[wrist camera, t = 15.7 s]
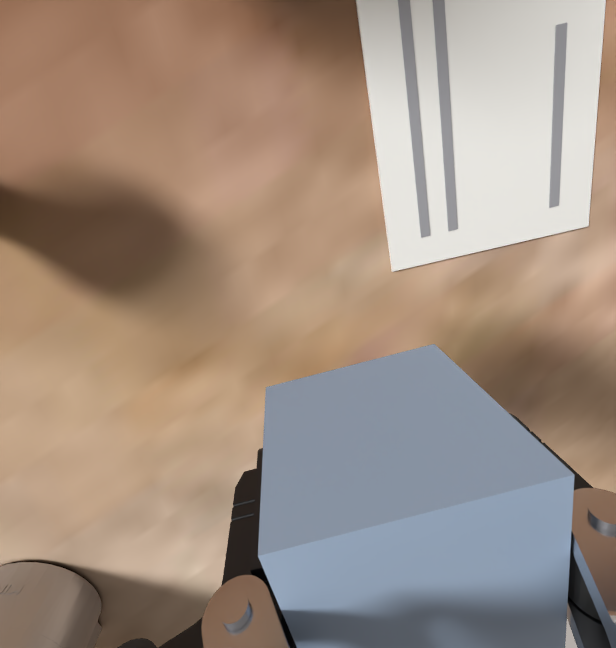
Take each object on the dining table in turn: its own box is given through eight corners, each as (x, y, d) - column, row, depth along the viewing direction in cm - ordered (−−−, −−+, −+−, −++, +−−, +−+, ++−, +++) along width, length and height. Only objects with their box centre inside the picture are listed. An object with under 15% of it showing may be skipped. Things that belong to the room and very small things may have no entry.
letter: (585, 226, 19) (589, 226, 19) (391, 270, 19) (393, 271, 19) (613, -154, 14) (619, -160, 14) (344, -87, 14) (345, -91, 14)
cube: (449, 474, 12) (564, 657, 7) (306, 511, 12) (327, 719, 7) (434, 343, 10) (574, 475, 5) (265, 387, 10) (257, 556, 5)
